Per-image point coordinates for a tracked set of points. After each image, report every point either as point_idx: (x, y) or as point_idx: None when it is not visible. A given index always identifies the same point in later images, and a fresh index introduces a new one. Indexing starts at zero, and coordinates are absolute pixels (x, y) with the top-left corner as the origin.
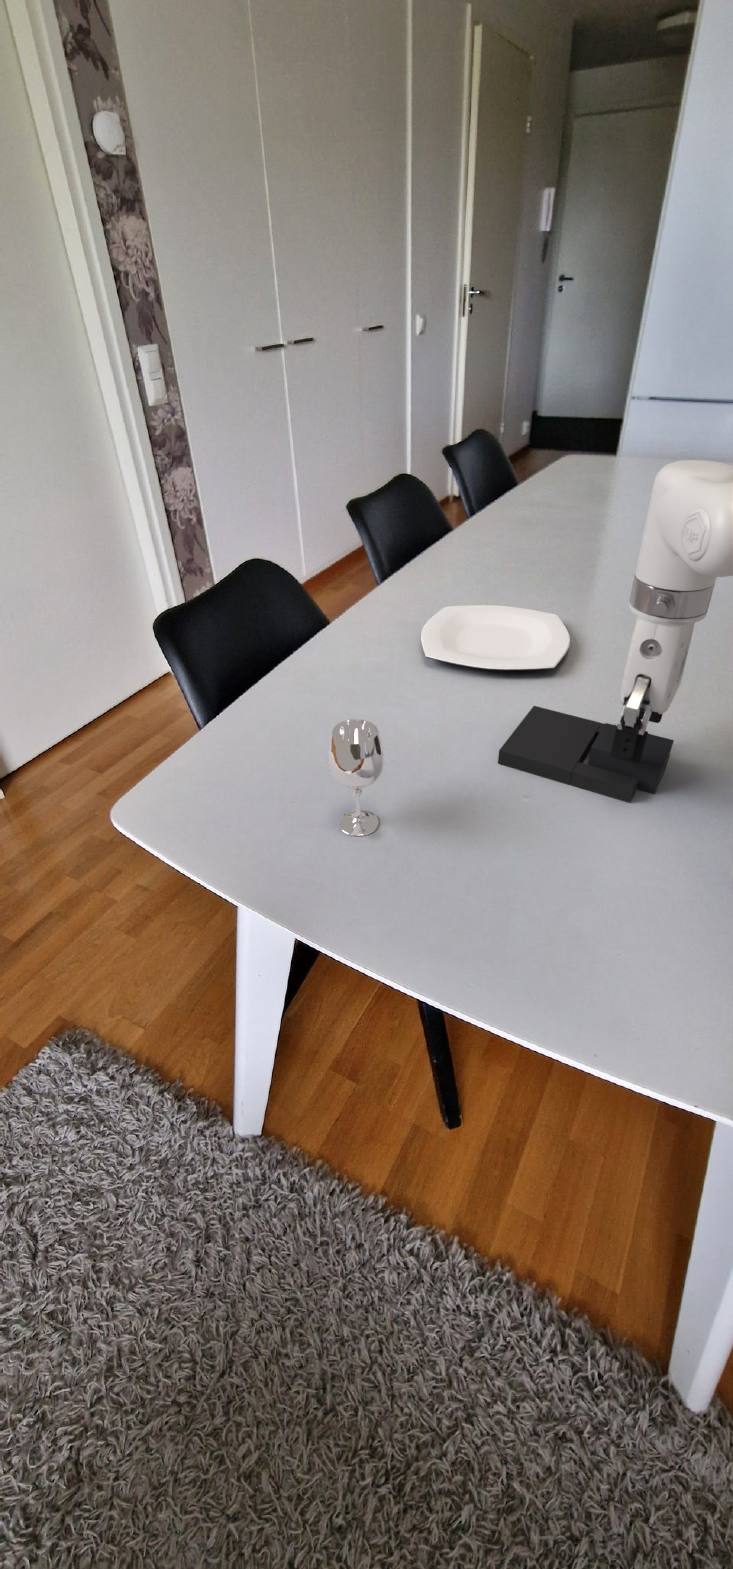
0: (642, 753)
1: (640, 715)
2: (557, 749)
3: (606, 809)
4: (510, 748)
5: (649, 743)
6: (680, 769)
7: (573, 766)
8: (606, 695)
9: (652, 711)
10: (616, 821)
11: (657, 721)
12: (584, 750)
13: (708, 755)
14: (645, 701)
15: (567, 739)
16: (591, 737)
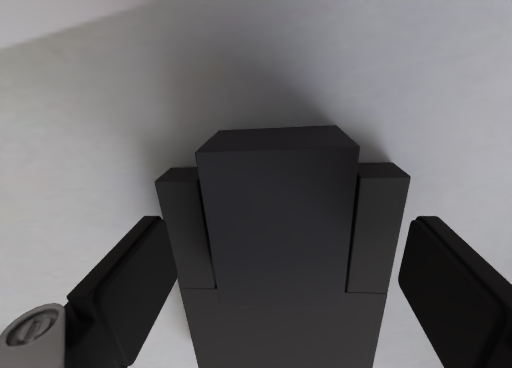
0: (447, 235)
1: (170, 269)
2: (321, 327)
3: (432, 195)
4: None
5: (255, 205)
6: (204, 99)
7: (367, 295)
8: (56, 283)
9: (152, 260)
10: (471, 168)
11: (162, 223)
12: None
13: (103, 53)
14: (143, 308)
15: (276, 321)
16: None
